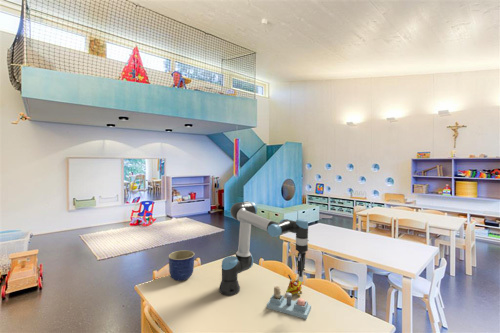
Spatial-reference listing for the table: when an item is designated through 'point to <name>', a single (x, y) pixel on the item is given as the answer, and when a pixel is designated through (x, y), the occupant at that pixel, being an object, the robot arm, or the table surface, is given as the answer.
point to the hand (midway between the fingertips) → (301, 280)
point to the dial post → (288, 299)
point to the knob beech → (277, 293)
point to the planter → (181, 264)
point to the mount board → (289, 307)
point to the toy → (294, 286)
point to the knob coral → (301, 302)
